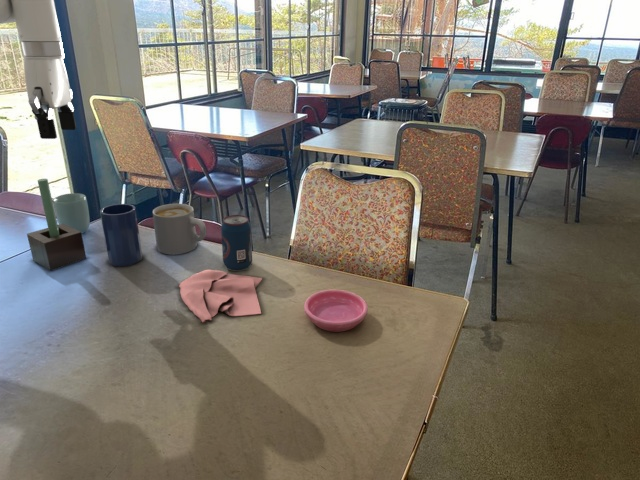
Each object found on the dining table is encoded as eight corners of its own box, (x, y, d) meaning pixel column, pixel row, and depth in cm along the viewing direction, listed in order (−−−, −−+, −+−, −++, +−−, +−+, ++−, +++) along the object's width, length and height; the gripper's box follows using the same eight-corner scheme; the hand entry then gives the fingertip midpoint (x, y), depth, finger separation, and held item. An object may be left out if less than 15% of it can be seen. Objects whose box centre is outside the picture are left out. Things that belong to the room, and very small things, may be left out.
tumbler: (102, 260, 116) (93, 209, 111) (130, 250, 122) (123, 201, 117) (120, 269, 112) (111, 217, 107) (148, 258, 118) (141, 208, 112)
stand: (33, 260, 115) (26, 233, 113) (68, 248, 122) (63, 223, 119) (50, 271, 111) (44, 243, 108) (86, 258, 117) (81, 231, 114)
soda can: (220, 261, 117) (217, 215, 112) (248, 257, 119) (246, 212, 114) (227, 274, 111) (224, 226, 106) (256, 269, 114) (254, 222, 109)
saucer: (347, 344, 87) (347, 330, 86) (291, 322, 93) (291, 309, 92) (377, 314, 97) (378, 300, 95) (325, 296, 103) (326, 283, 102)
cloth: (203, 267, 114) (202, 257, 113) (287, 284, 107) (287, 274, 106) (147, 309, 96) (145, 299, 95) (244, 333, 90) (243, 322, 89)
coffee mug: (148, 249, 122) (143, 212, 118) (175, 235, 131) (171, 201, 127) (189, 260, 117) (185, 222, 113) (215, 246, 125) (212, 210, 121)
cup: (80, 239, 127) (73, 203, 123) (54, 236, 128) (46, 201, 124) (97, 228, 134) (91, 194, 130) (72, 226, 135) (65, 192, 131)
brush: (50, 259, 116) (32, 179, 108) (63, 255, 118) (46, 177, 110) (56, 263, 114) (38, 182, 106) (69, 259, 116) (52, 179, 108)
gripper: (44, 48, 107) (59, 126, 114) (0, 52, 91) (21, 142, 98) (78, 49, 107) (92, 126, 114) (41, 53, 92) (59, 142, 99)
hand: (59, 133), depth 106 cm, fingers open, 9 cm apart
